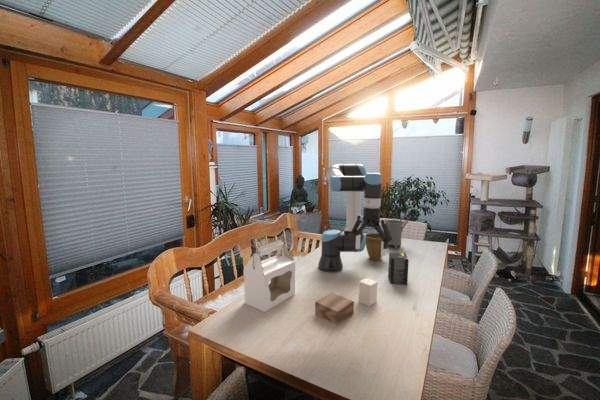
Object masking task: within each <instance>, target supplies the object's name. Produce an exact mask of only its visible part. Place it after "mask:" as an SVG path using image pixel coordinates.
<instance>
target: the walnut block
mask: <svg viewBox="0 0 600 400" xmlns="http://www.w3.org/2000/svg"><path fill="white" fill-rule="evenodd" d="M314 305H315V306H314V307H315V308H314V309H315V310H314V314H315V315H317V316H318V317H321V318H323V319H325V320H327V321H329V322H331V323H333V324H335V325H337V326H338V325H339V324H340V323H342V322H344V321H345V320H346V319H348V318H350V317H351V316H352V315H353V314H354V312H355V311H354V309H355V307H354V306H355V301H354V300H352V299H350V298H347V297H344V296H342V295H339V294H337V293H334V292H329V294H326V295H325V296H324V297H322V298H319V299H318V300H316V301H315V304H314Z"/></svg>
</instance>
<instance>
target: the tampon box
mask: <svg viewBox="0 0 600 400" xmlns="http://www.w3.org/2000/svg"><path fill="white" fill-rule="evenodd" d="M387 271H388V272H387V273H388V274H387V278H388V281H389V284H394V285H405V286H408V277H409V258H408V256H407V253H404V252H391V251H390V252H389V257H388V269H387Z"/></svg>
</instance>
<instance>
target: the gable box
mask: <svg viewBox="0 0 600 400" xmlns="http://www.w3.org/2000/svg"><path fill="white" fill-rule="evenodd" d="M275 251H276V254H275V255H273V256H271V257H268V258H266V259H264V260H261V257H262V256H265V255H267V254H270V253H273V252H275ZM243 281H244V282H243V283H244V286H243V287H244V288H243V289H244V304H246V305H247V306H250V307H252V308H255V309H257V310H258V311H261V312H263V313H265V312H267V311H269V310H271V309H273V308H274V307H276V306H278V305H279V304H281V303H283V302H284V301H286V300H287V299H289V298H291V297H293V296H295V294H296V260H295V259H294V257H293V256H292V254H291V252H290V251H289V250H288V248H287V247H286V244H285V242H284V241H282V239H278V240H274V241H272V242H268V243H265V244H263V245H259V246H257V248H256V253H253V254H252V255H251V257H250V259H249V260H248V262H247V263H246V265H245V266H244V267H243Z"/></svg>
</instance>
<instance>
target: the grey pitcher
mask: <svg viewBox="0 0 600 400" xmlns="http://www.w3.org/2000/svg"><path fill="white" fill-rule="evenodd" d="M402 218H406V220H404V221H402ZM409 221H410V220H409V217H408V216H407V215H400V217H399V219H386V224H387V227H388V229H389V232H390V235H391V237H392V241H389V242H388V245H390V246H394V248H395V250H397V248H398V246H400V245H402V233H403V230H404V228H405V226H406V225H407V224H408V223H409Z"/></svg>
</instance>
